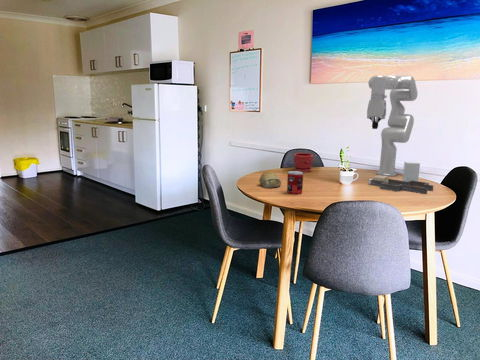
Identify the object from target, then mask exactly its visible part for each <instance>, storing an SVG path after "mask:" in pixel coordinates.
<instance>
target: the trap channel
mask: <svg viewBox="0 0 480 360" xmlns="http://www.w3.org/2000/svg"><path fill="white" fill-rule="evenodd" d="M390 184H391V185H390ZM368 185H370V186H376V187H379V189H380V190H381V189H382V190H387V191H391V190H392V191H393V192H397V191H398V192H400V191H407V192H411V193H416V194H417V193H418V194H423V195H424V194H425V195H427V194H428V192H433V191H434V185H433V184H432V185H431V184H430V183H429V182H424V181H423V182H422V181H420V180H418V181H412V180H411V181H408V182H406V181H403V180H399V179H393V178H392V179H391V178H388V184H387V182H384V181H377V180H374V177H373V178H369V179H368Z"/></svg>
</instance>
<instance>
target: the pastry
mask: <svg viewBox="0 0 480 360" xmlns="http://www.w3.org/2000/svg"><path fill="white" fill-rule="evenodd" d="M280 179H281V178H279V177H278V175H277V174H276V173H274V172H272V171H265V172H263V173H261V175H260V176H259V180H258V181H259V184H260V186H261V187H263V188H265V189H272V188H279V187H280V186H281V184H282V181H281V180H280Z"/></svg>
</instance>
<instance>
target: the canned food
mask: <svg viewBox="0 0 480 360" xmlns="http://www.w3.org/2000/svg"><path fill="white" fill-rule="evenodd" d="M286 179H287V182H286V183H287V184H286V186H287V187H286V192H287V193H288V194H290V195H301V194H302V193H303V188H304V187H303V186H304V172H300V171H296V170H289V171H287V178H286Z"/></svg>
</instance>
